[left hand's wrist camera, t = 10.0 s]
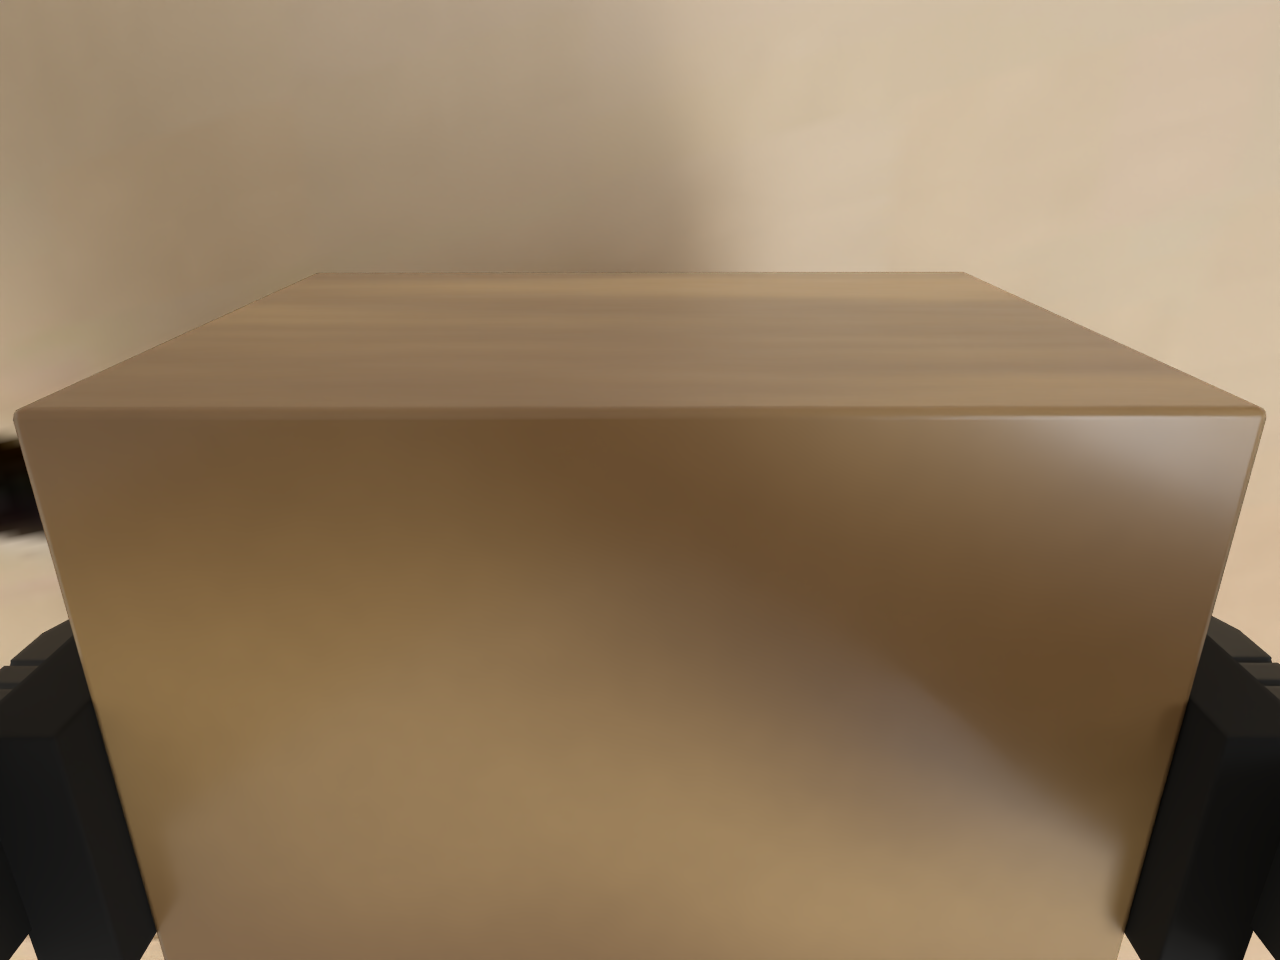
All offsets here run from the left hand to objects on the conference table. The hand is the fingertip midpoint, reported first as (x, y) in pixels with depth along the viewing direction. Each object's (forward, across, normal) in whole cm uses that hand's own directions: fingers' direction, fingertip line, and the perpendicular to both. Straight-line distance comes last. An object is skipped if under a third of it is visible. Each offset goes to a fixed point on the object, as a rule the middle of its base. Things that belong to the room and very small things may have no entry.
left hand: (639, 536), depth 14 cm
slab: (+1, 0, -33) cm, 33 cm away
